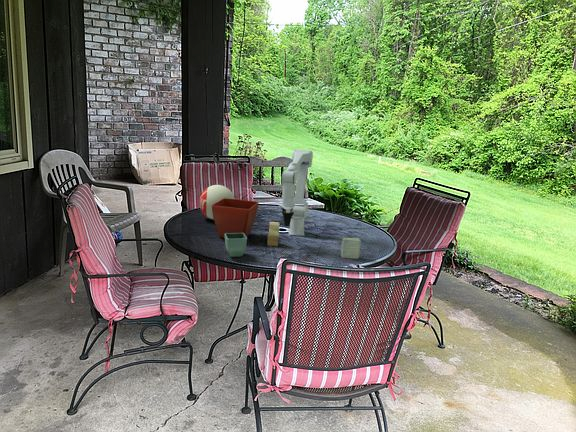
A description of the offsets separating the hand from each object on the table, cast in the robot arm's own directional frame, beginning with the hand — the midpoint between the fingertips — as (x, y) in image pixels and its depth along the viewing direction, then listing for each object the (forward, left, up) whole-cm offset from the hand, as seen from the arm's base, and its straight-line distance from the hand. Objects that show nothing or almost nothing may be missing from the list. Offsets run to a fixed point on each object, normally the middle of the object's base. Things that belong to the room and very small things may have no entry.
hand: (286, 224), depth 225 cm
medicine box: (+15, +29, -11) cm, 34 cm away
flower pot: (+19, -23, -11) cm, 32 cm away
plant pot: (-12, -25, -11) cm, 30 cm away
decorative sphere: (-43, -37, -11) cm, 58 cm away
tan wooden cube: (0, -6, -10) cm, 12 cm away
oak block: (0, -6, -6) cm, 8 cm away
